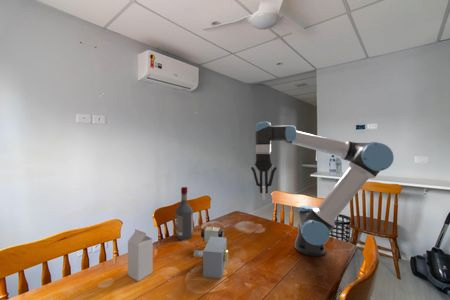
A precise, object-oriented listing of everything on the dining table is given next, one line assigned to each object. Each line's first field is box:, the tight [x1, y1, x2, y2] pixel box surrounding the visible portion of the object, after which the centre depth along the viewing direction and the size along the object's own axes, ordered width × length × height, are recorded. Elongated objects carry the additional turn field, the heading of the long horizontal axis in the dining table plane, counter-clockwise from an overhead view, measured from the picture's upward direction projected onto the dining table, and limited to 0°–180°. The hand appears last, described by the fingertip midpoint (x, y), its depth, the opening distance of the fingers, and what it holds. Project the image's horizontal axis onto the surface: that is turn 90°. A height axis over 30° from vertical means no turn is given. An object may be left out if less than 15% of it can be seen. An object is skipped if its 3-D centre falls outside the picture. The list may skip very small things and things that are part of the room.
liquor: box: [174, 186, 194, 241], centre depth 125 cm, size 9×9×30 cm
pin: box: [193, 249, 229, 263], centre depth 94 cm, size 16×5×5 cm, turn 81°
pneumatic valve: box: [200, 226, 225, 243], centre depth 112 cm, size 6×12×12 cm, turn 79°
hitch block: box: [202, 236, 228, 279], centre depth 94 cm, size 8×14×11 cm, turn 171°
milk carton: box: [127, 228, 154, 282], centre depth 89 cm, size 7×7×19 cm
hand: (263, 199), depth 105 cm, fingers closed
